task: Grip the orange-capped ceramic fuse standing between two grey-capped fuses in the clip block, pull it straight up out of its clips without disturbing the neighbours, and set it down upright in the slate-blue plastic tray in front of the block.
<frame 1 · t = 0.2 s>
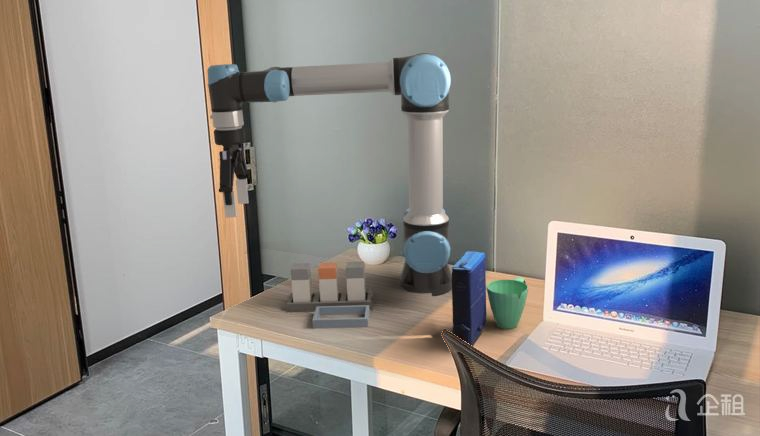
hand: (237, 210, 176), 28 cm above the table, fingers open, 13 cm apart
mug: (510, 321, 169), on the table
clip block: (330, 307, 182), on the table
tray: (342, 323, 172), on the table
book: (469, 339, 161), on the table
fuse 1: (303, 305, 182), point 1 cm above the table, touching clip block
fuse 2: (357, 303, 182), point 1 cm above the table, touching clip block
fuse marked: (330, 304, 182), point 1 cm above the table, touching clip block
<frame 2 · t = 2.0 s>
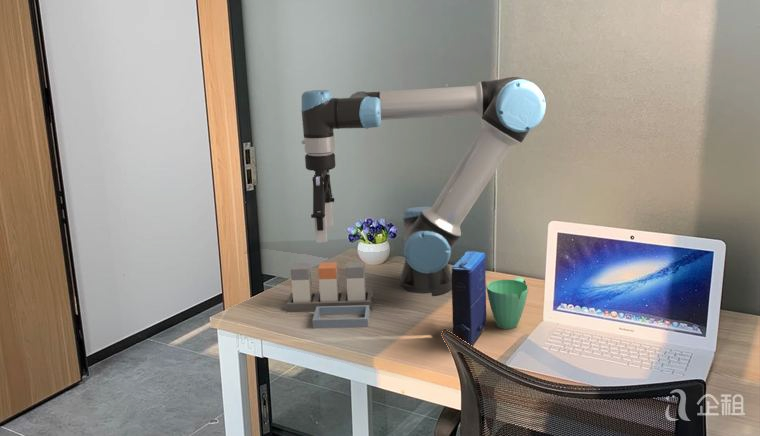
hand: (324, 234, 177), 20 cm above the table, fingers open, 13 cm apart
nothing on the table moved.
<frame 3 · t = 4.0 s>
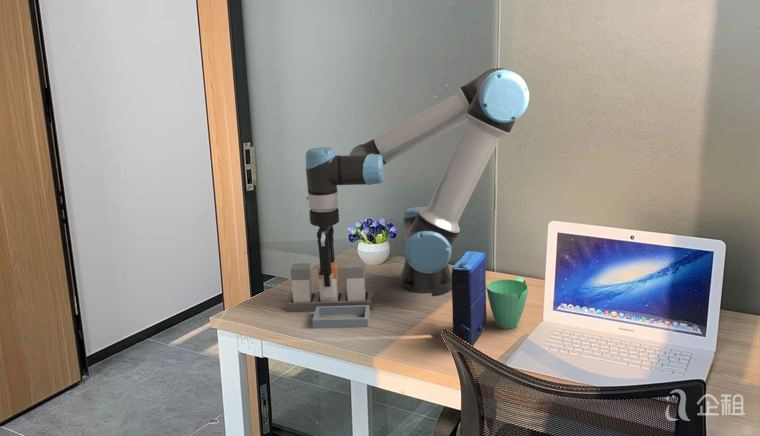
hand: (329, 293, 181), 4 cm above the table, fingers closed on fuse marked, 4 cm apart
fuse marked: (330, 304, 182), point 1 cm above the table, touching clip block, gripper
everything else where it was.
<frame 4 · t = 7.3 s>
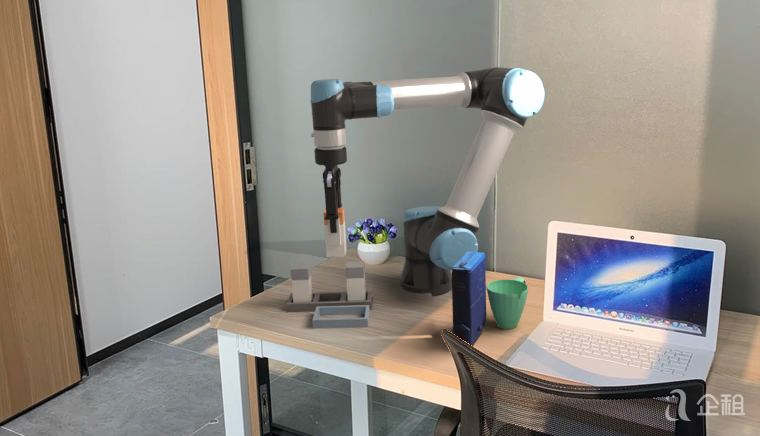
hand: (336, 241, 167), 22 cm above the table, fingers closed on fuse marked, 4 cm apart
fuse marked: (336, 253, 167), point 19 cm above the table, touching gripper
everything else where it was.
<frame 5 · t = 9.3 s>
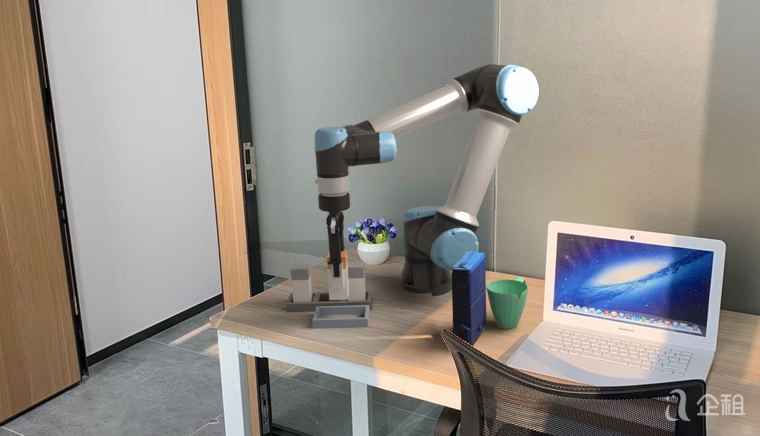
hand: (339, 284, 169), 11 cm above the table, fingers closed on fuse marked, 4 cm apart
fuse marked: (339, 296, 170), point 7 cm above the table, touching gripper
everything else where it was.
when the fingers open (5 cm above the table, at t = 10.8 s): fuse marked stays where it is, resting on tray.
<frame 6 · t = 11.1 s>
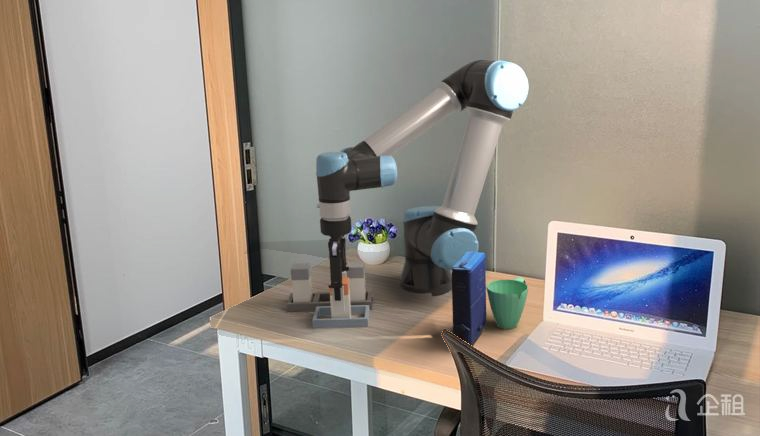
hand: (340, 303, 171), 6 cm above the table, fingers open, 9 cm apart
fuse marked: (341, 321, 172), point 1 cm above the table, touching tray
everything else where it was.
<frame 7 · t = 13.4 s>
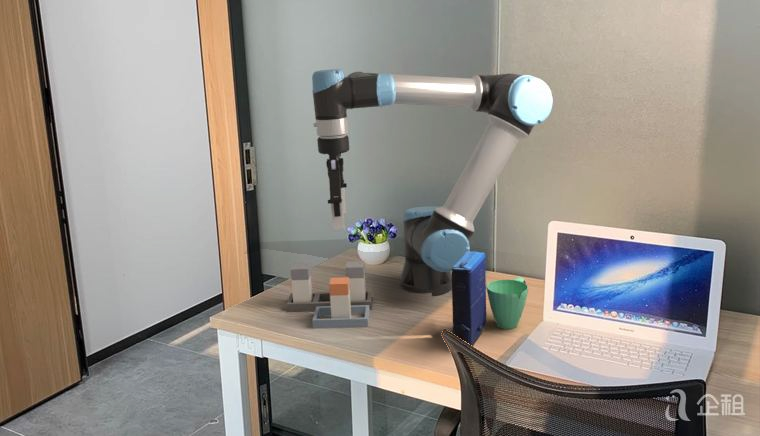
hand: (340, 221, 169), 26 cm above the table, fingers open, 13 cm apart
nothing on the table moved.
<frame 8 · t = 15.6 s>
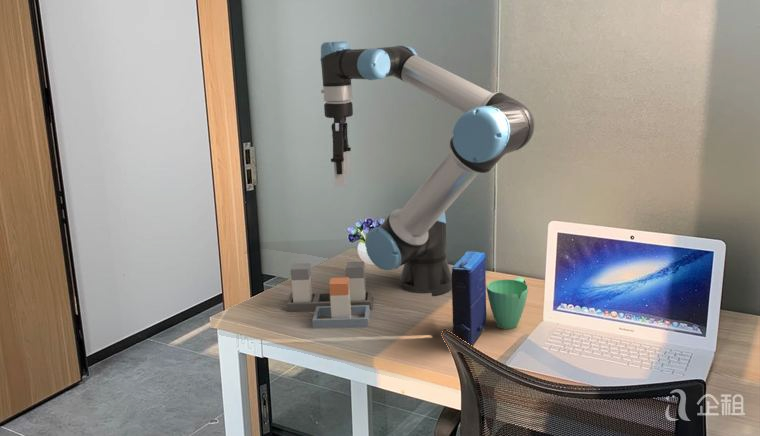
hand: (342, 180, 187), 32 cm above the table, fingers open, 13 cm apart
nothing on the table moved.
at the end: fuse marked inside the target area on the tray (0.0 cm from its centre), point 0.6 cm above the tray's base; fuse 2 moved 0.0 cm from its start; fuse 1 moved 0.0 cm from its start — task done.
